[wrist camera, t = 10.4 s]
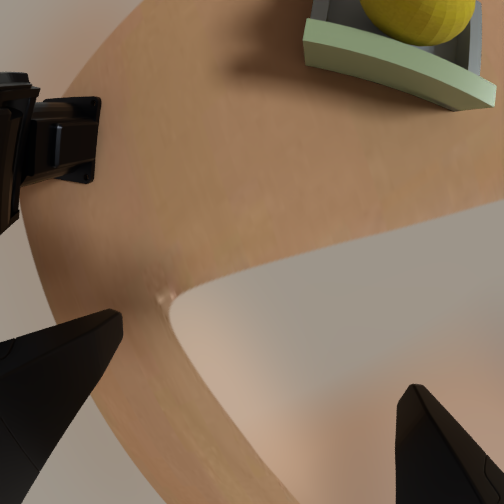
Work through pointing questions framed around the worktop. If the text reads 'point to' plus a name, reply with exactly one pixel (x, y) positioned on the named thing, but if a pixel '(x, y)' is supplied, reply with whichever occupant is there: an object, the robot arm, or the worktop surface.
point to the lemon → (420, 19)
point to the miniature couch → (398, 56)
